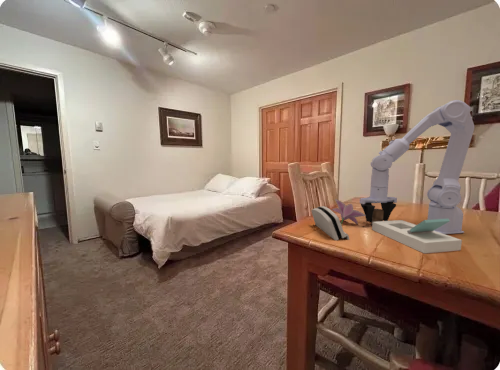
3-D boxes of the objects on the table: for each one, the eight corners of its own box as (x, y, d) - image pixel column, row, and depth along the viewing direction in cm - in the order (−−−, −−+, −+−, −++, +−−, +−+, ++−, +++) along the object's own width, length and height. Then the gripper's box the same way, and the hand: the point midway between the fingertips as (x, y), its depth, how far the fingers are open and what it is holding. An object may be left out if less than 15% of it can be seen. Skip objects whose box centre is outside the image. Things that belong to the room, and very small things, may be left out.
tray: (400, 227, 80) (401, 220, 80) (460, 250, 61) (461, 239, 60) (372, 229, 78) (372, 221, 78) (424, 253, 59) (425, 242, 59)
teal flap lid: (430, 229, 68) (448, 218, 62) (431, 232, 67) (450, 221, 61) (406, 231, 66) (423, 219, 61) (408, 233, 66) (425, 222, 60)
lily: (367, 232, 79) (371, 207, 82) (340, 221, 77) (345, 196, 80) (345, 231, 90) (350, 210, 93) (321, 222, 88) (326, 200, 91)
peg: (377, 223, 87) (378, 208, 86) (385, 226, 83) (386, 210, 82) (368, 223, 86) (369, 208, 85) (375, 226, 82) (376, 211, 81)
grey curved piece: (350, 240, 69) (341, 211, 67) (336, 245, 69) (327, 217, 67) (327, 224, 85) (319, 201, 84) (316, 228, 85) (308, 205, 84)
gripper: (387, 185, 88) (385, 217, 89) (355, 185, 85) (353, 219, 87) (402, 187, 81) (399, 222, 82) (367, 188, 78) (365, 224, 80)
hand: (376, 221), depth 84 cm, fingers open, 6 cm apart
